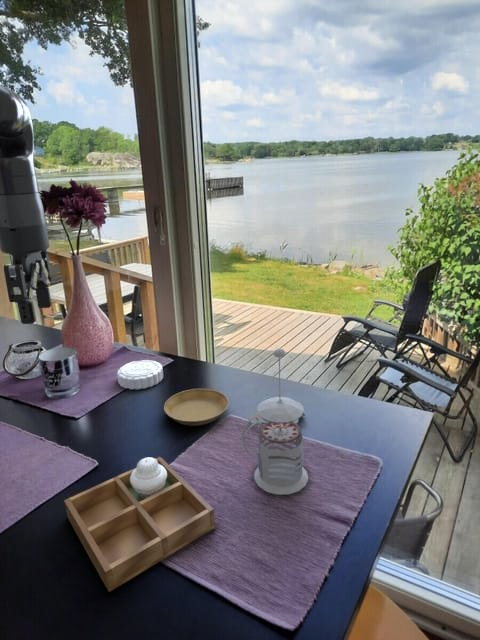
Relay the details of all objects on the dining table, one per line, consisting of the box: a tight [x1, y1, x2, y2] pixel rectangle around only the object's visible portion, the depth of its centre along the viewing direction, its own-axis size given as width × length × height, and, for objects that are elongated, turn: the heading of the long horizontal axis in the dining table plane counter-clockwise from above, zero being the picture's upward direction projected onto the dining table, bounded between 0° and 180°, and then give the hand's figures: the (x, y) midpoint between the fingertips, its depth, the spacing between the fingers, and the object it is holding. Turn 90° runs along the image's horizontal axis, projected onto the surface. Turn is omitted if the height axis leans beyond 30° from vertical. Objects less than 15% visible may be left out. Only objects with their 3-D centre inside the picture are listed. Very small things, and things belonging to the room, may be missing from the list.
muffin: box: [130, 456, 167, 499], centre depth 75 cm, size 6×6×7 cm
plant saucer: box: [163, 388, 230, 427], centre depth 101 cm, size 15×15×3 cm
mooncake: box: [116, 359, 164, 391], centre depth 119 cm, size 12×12×4 cm
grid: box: [63, 456, 216, 593], centre depth 70 cm, size 17×17×4 cm
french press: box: [241, 347, 309, 496], centre depth 76 cm, size 10×12×25 cm
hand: (37, 315), depth 78 cm, fingers open, 8 cm apart
